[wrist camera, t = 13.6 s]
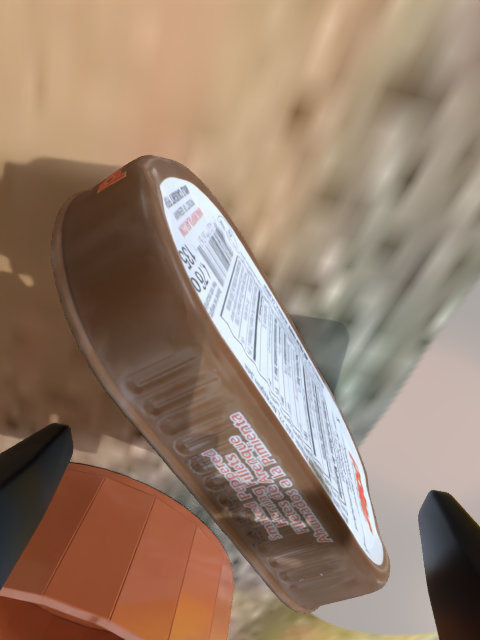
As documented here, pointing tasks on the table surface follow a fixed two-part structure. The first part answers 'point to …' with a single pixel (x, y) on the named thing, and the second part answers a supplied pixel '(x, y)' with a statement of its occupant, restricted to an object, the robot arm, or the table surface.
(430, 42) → the table surface
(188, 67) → the table surface
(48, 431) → the robot arm
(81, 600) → the pot
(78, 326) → the tin
